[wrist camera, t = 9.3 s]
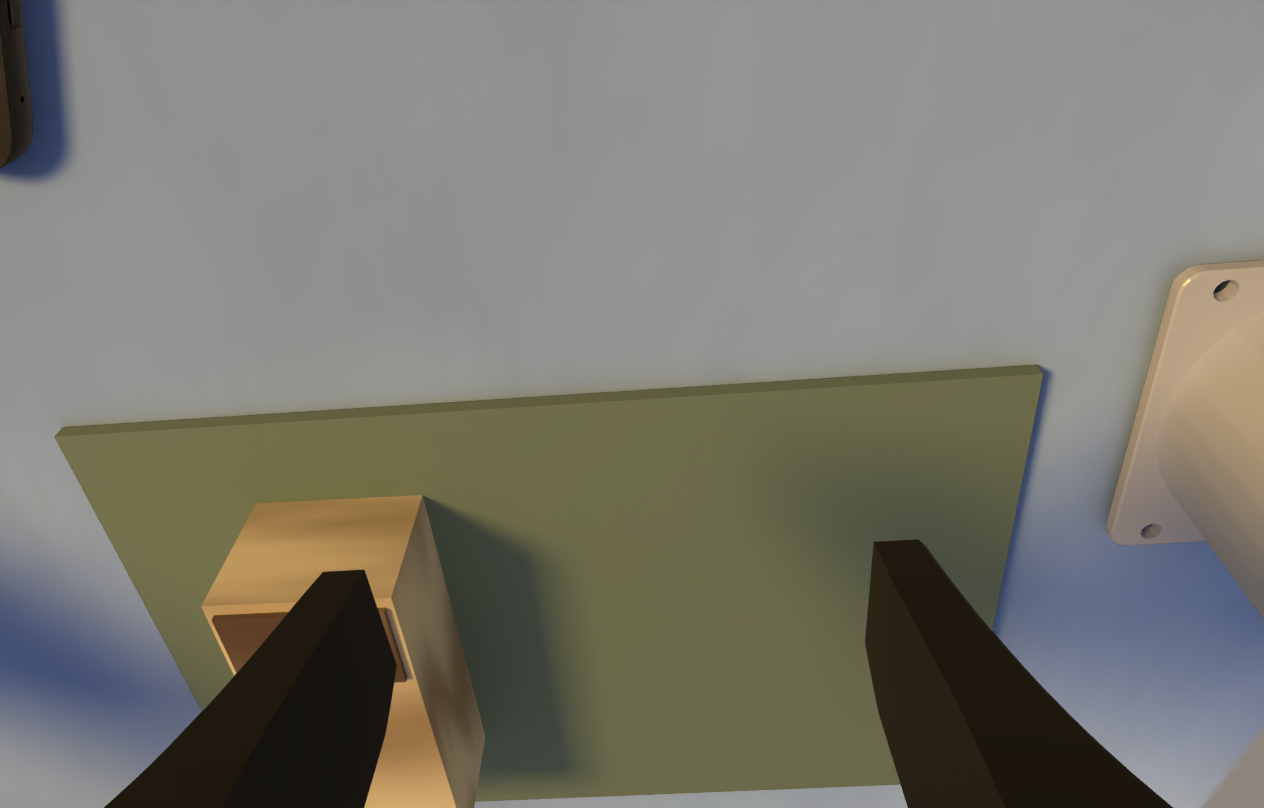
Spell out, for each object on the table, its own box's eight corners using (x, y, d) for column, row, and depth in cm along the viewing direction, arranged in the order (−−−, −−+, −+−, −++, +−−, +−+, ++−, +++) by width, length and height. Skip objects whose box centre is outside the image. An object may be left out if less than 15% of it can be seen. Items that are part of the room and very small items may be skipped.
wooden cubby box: (485, 736, 29) (467, 849, 26) (349, 741, 30) (315, 855, 26) (422, 495, 24) (389, 602, 21) (255, 503, 24) (198, 610, 21)
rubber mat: (1037, 365, 22) (1043, 374, 22) (958, 770, 31) (962, 781, 30) (62, 427, 23) (54, 437, 23) (259, 799, 32) (255, 810, 32)
